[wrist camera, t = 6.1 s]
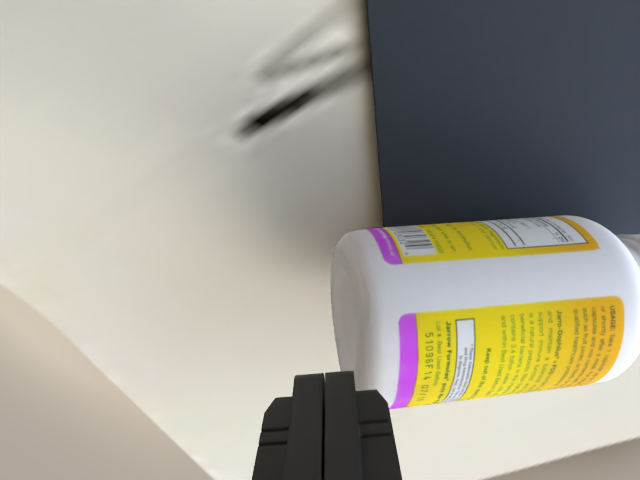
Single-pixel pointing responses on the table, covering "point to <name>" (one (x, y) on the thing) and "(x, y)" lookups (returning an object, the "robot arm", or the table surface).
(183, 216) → the table surface
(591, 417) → the table surface
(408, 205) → the mat
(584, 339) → the supplement bottle
